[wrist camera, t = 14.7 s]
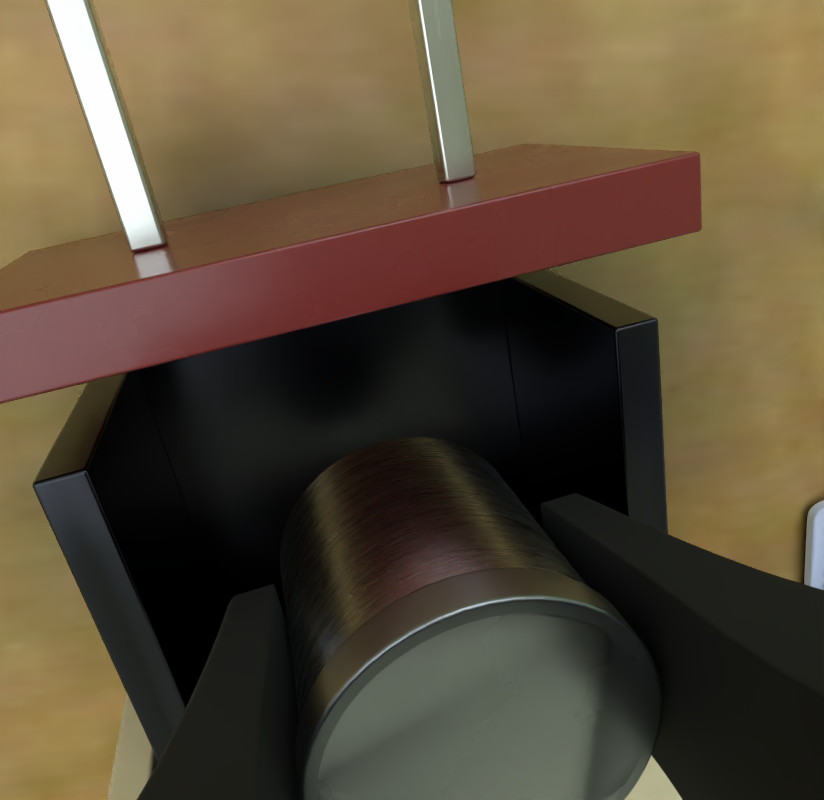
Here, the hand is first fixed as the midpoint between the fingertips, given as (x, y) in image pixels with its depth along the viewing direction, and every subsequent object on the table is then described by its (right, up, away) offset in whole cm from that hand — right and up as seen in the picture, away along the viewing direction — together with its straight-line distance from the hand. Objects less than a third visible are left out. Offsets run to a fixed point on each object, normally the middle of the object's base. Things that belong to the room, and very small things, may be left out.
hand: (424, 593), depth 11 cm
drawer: (-2, +4, +6) cm, 8 cm away
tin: (0, 0, +1) cm, 1 cm away
